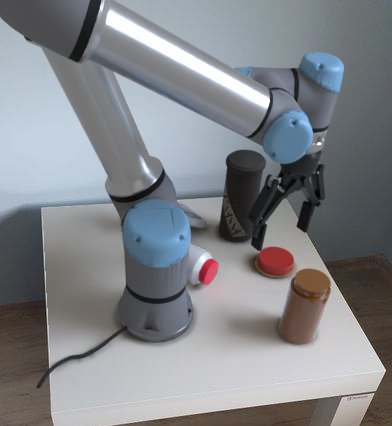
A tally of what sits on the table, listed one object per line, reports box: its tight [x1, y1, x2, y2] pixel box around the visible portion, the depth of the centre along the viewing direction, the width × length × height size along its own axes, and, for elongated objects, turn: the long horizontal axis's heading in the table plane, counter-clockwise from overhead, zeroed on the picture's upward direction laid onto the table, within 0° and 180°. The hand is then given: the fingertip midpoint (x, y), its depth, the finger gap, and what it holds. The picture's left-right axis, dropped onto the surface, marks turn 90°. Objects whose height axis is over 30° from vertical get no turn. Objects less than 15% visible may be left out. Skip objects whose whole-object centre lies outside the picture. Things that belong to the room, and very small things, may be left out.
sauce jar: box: [278, 268, 332, 345], centre depth 102 cm, size 8×8×14 cm
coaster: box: [254, 255, 296, 280], centre depth 120 cm, size 9×9×1 cm
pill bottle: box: [186, 242, 220, 286], centre depth 113 cm, size 8×8×11 cm
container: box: [218, 149, 267, 243], centre depth 120 cm, size 9×9×20 cm
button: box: [177, 200, 209, 230], centre depth 126 cm, size 10×2×10 cm
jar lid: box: [257, 246, 295, 275], centre depth 119 cm, size 8×8×2 cm
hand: (279, 238), depth 115 cm, fingers open, 13 cm apart
